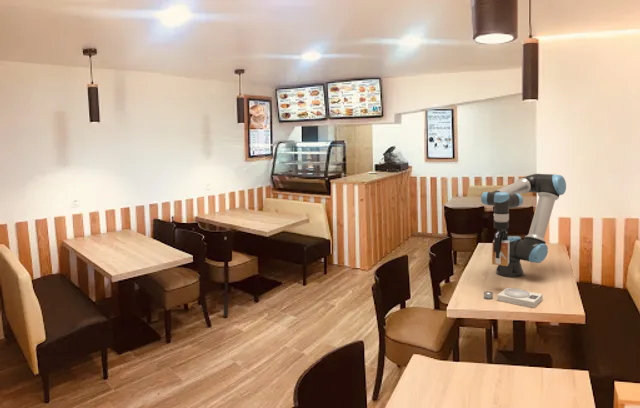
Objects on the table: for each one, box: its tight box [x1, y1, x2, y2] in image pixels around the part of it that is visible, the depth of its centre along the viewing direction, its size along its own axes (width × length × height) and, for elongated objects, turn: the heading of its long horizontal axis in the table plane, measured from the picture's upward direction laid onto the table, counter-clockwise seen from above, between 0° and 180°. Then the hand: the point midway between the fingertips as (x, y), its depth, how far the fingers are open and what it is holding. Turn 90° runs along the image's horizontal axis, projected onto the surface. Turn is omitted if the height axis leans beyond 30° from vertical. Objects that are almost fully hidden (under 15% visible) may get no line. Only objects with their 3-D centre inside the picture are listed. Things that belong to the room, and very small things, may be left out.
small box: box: [491, 240, 510, 266], centre depth 249 cm, size 8×6×13 cm
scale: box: [496, 287, 544, 309], centre depth 235 cm, size 18×14×4 cm
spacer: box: [483, 290, 494, 300], centre depth 239 cm, size 4×4×3 cm
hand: (500, 261), depth 249 cm, fingers closed on small box, 7 cm apart
